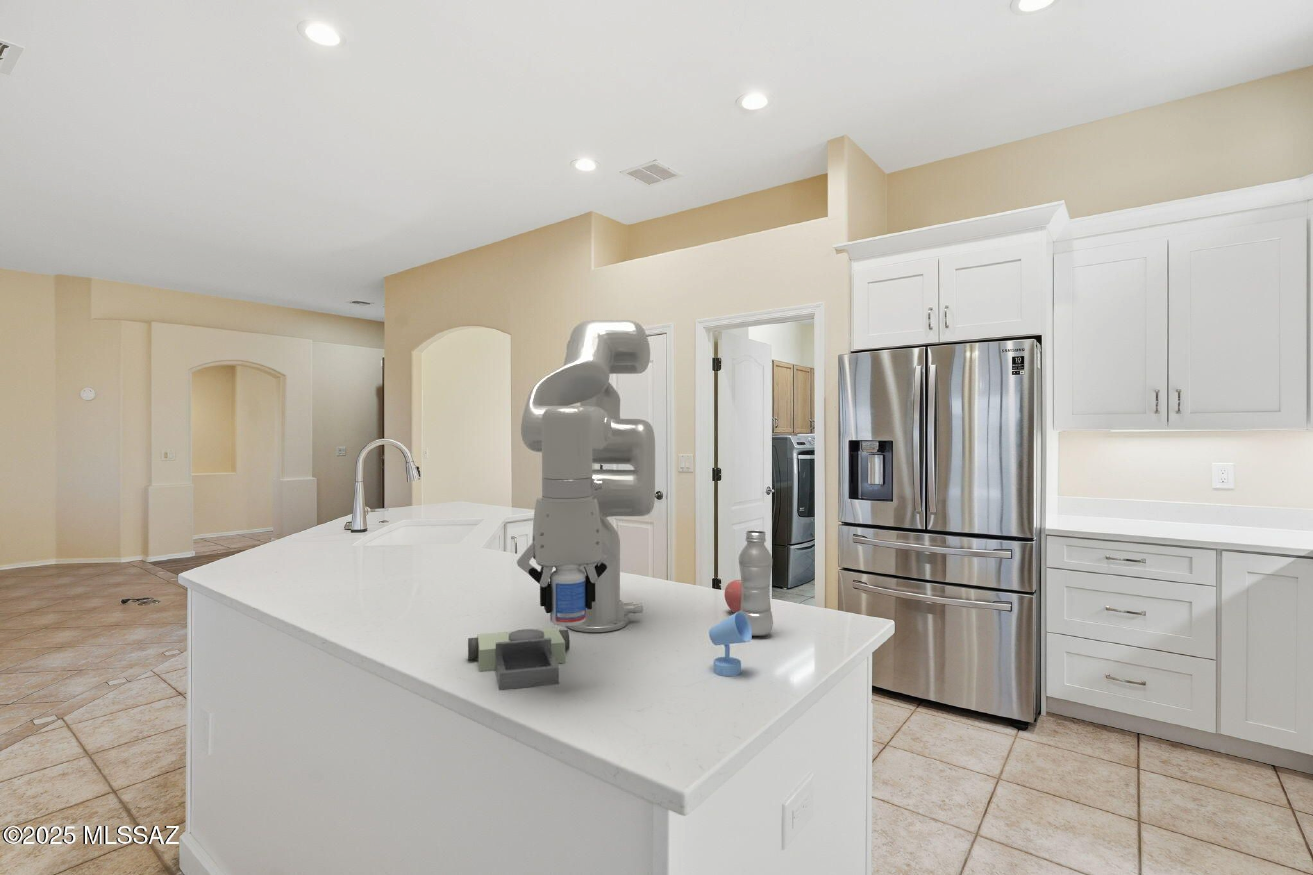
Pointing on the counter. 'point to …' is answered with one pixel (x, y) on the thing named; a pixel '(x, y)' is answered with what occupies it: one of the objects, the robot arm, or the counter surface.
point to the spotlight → (730, 642)
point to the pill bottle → (568, 595)
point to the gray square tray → (525, 664)
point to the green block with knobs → (485, 643)
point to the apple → (734, 595)
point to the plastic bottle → (756, 583)
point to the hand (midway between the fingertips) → (567, 607)
